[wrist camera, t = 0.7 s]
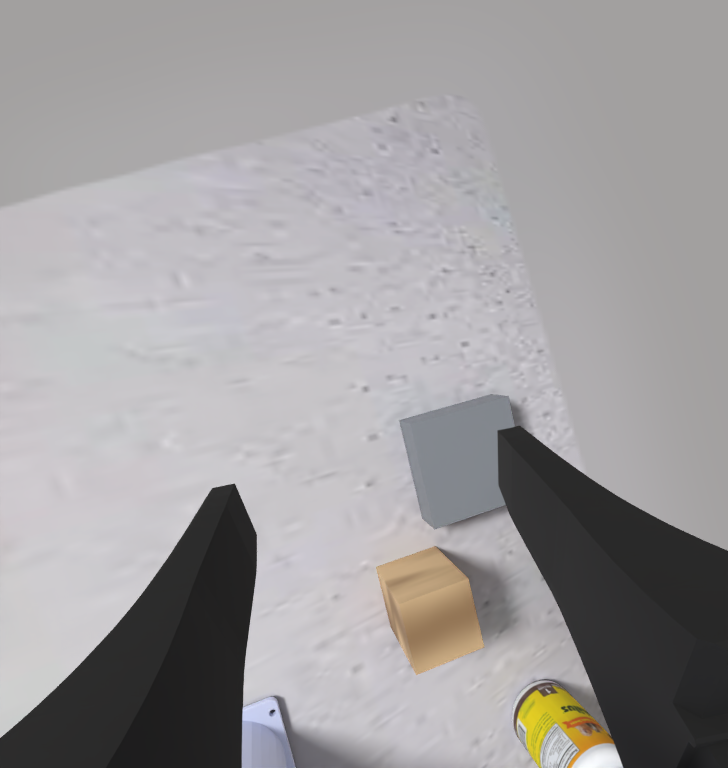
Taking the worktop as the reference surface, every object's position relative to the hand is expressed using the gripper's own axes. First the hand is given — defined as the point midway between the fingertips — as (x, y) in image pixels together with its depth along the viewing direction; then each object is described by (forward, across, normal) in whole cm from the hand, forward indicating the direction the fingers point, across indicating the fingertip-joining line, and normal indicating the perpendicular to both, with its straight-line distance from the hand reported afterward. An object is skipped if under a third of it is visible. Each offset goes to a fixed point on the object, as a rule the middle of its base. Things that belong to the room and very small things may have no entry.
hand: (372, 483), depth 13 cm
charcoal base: (+19, -7, +17) cm, 26 cm away
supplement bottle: (+9, -10, +38) cm, 40 cm away
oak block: (+13, -1, +24) cm, 28 cm away
